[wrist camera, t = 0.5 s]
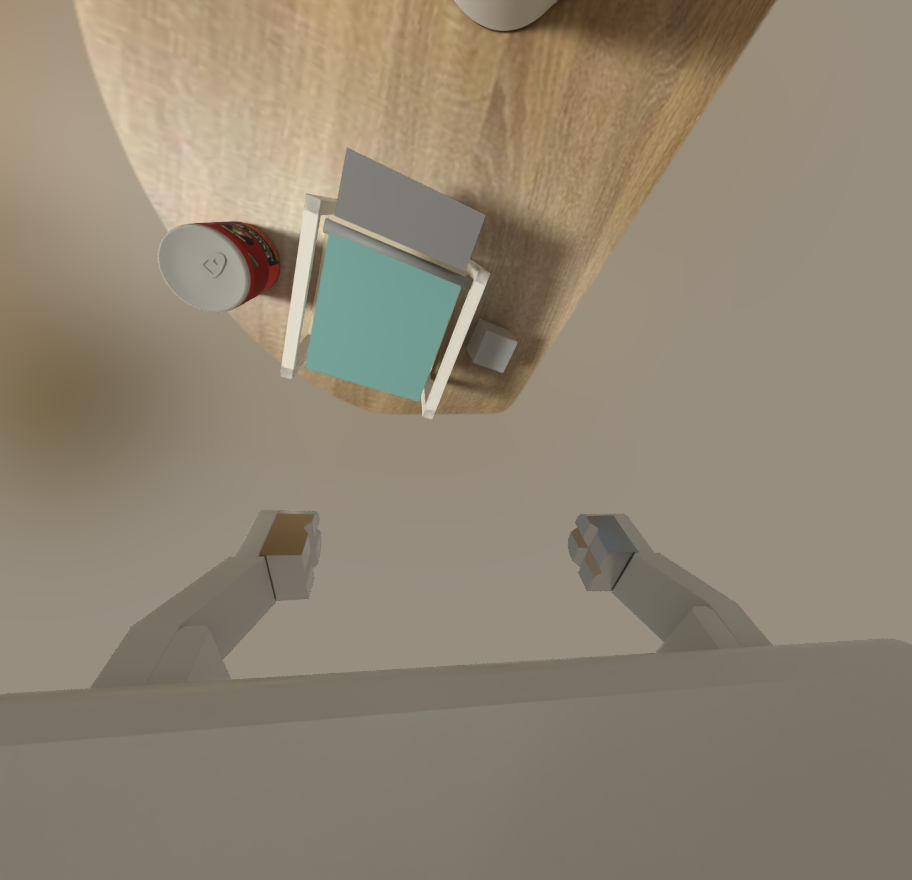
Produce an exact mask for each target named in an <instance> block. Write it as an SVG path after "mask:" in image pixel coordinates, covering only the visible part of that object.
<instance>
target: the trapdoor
mask: <svg viewBox="0 0 912 880" xmlns="http://www.w3.org/2000/svg"><path fill="white" fill-rule="evenodd" d="M335 216H336V217H338V218H341V219H343V220H345V221H348V222H350V223H352V224H355V225H357V226H359V227H362V228H364V229H367V230H369V231H371V232H374V233H376V234H378V235H381V236H383V237H385V238H388V239H390V240H392V241H395V242H397V243H399V244H402V245H404V246H406V247H409V248H411V249H413V250H416V251H418V252H420V253H423V254H425V255H427V256H430V257H432V258H434V259H437V260H439V261H441V262H444V263H446V264H449V265H451V266H453V267H456V268H458V269H460V270H463V271H466V268H467V265H468V263H469V260H470V257H471V255H472V252H473V249H474V246H475V244H476V241H477V238H478V236H479V233H480V230H481V227H482V225H483V222H484V219H485V217H486V215H485V214H483V213H481V212H478V211H476V210H474V209H472V208H470V207H468V206H466V205H464V204H462V203H460V202H458V201H456V200H454V199H452V198H450V197H448V196H446V195H444V194H442V193H439V192H437V191H435V190H433V189H431V188H429V187H427V186H425V185H423V184H421V183H419V182H417V181H415V180H413V179H411V178H409V177H407V176H405V175H403V174H400V173H398V172H396V171H394V170H392V169H390V168H388V167H386V166H384V165H382V164H380V163H378V162H376V161H374V160H372V159H370V158H368V157H366V156H364V155H361V154H359V153H357V152H355V151H353V150H351V149H349V148H347V150H346V155H345V161H344V166H343V172H342V177H341V183H340V188H339V194H338V199H337V205H336V210H335ZM323 232H324V233H326V234H329V235H328V241H327V246H326V252H325V258H324V263H323V269H322V274H321V280H320V286H319V291H318V297H317V302H316V308H315V313H314V319H313V325H312V330H311V336H310V341H309V347H308V353H307V358H306V364H305V368H306V369H310V370H313V371H316V372H320V373H323V374H327V375H330V376H333V377H337V378H340V379H343V380H347V381H350V382H354V383H357V384H360V385H364V386H367V387H371V388H374V389H377V390H381V391H384V392H387V393H391V394H394V395H398V396H401V397H404V398H408V399H411V400H414V401H418V402H419V400H420V397H421V394H422V392H423V389H424V386H425V384H426V381H427V378H428V375H429V373H430V370H431V367H432V365H433V362H434V359H435V357H436V354H437V351H438V348H439V346H440V343H441V340H442V338H443V335H444V332H445V330H446V327H447V324H448V321H449V319H450V316H451V313H452V311H453V308H454V305H455V303H456V300H457V297H458V294H459V292H460V289H463V290H465V289H466V287H467V285H468V282H469V278H467V277H465V276H462V275H460V274H458V273H455V272H453V271H451V270H448V269H446V268H444V267H441V266H439V265H436V264H434V263H432V262H429V261H427V260H425V259H422V258H420V257H417V256H415V255H413V254H410V253H408V252H406V251H403V250H401V249H398V248H396V247H394V246H391V245H389V244H387V243H384V242H382V241H380V240H377V239H375V238H372V237H370V236H368V235H365V234H363V233H361V232H358V231H356V230H353V229H351V228H349V227H346V226H344V225H342V224H339V223H337V222H335V221H332V220H330V219H327V218H326V219H325V222H324V228H323Z"/></svg>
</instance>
